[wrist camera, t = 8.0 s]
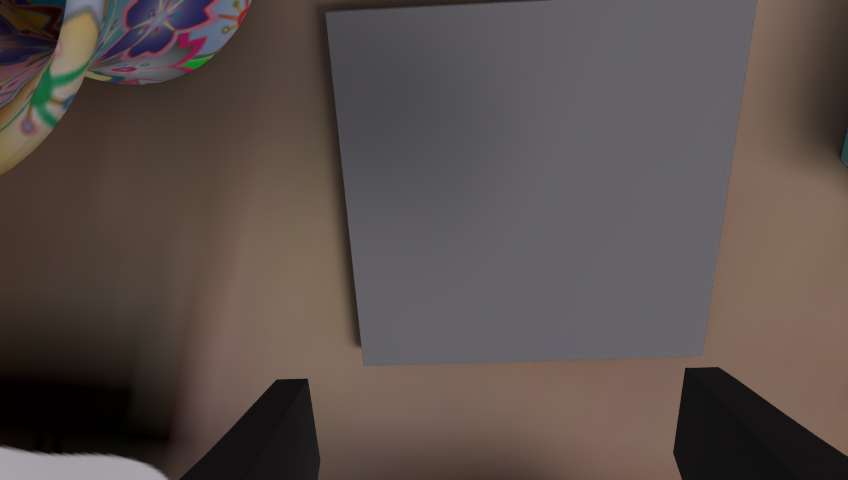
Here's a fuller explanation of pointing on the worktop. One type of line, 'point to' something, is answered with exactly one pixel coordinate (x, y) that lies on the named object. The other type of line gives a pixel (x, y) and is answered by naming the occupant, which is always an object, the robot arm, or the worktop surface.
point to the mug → (96, 54)
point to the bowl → (845, 151)
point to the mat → (536, 174)
